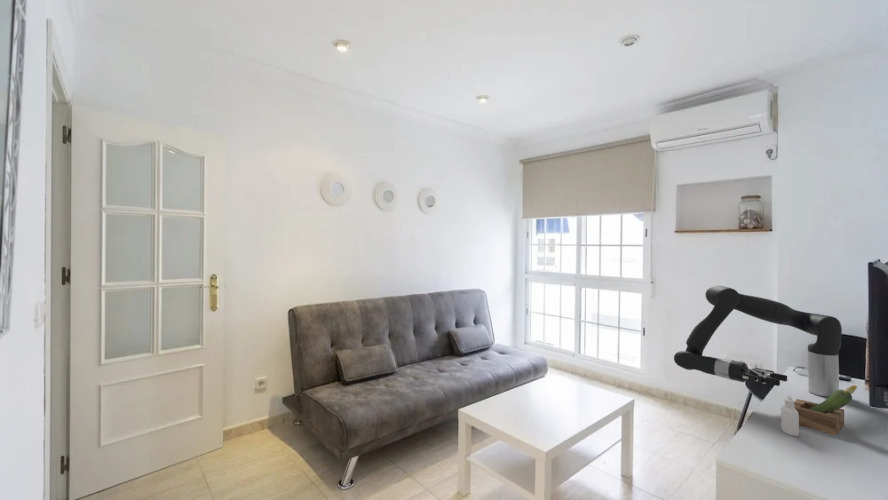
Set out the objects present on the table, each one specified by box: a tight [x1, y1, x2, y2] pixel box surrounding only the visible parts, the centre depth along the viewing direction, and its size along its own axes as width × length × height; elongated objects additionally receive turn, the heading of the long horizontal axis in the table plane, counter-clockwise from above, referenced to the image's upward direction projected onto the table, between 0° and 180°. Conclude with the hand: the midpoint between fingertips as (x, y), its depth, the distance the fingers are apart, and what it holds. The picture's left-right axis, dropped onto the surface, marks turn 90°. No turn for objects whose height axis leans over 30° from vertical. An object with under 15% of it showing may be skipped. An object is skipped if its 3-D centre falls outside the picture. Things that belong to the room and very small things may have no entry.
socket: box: [793, 398, 845, 436], centre depth 133 cm, size 12×12×6 cm
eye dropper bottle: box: [780, 395, 800, 437], centre depth 126 cm, size 4×6×12 cm
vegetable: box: [810, 384, 858, 414], centre depth 129 cm, size 4×4×20 cm
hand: (783, 380), depth 140 cm, fingers open, 8 cm apart
